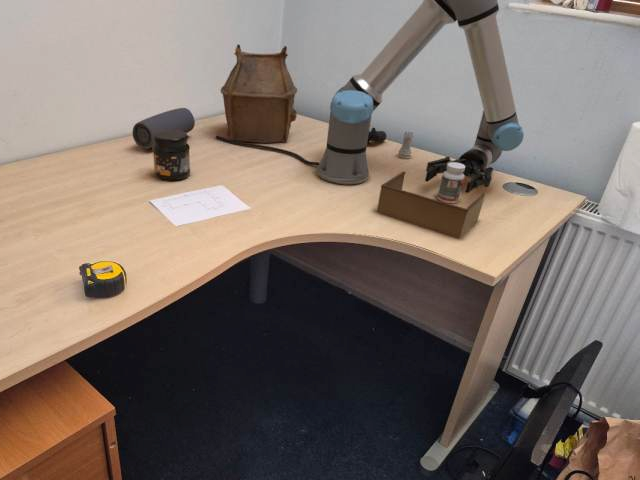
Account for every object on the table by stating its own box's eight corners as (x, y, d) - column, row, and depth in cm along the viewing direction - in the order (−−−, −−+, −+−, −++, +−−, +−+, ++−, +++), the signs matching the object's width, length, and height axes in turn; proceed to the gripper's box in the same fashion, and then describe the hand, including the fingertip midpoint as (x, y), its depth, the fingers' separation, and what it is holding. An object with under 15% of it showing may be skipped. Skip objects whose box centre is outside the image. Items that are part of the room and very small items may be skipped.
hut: (296, 146, 178) (304, 52, 161) (218, 143, 178) (217, 48, 161) (293, 127, 197) (300, 40, 180) (222, 124, 196) (222, 37, 180)
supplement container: (147, 174, 152) (143, 133, 145) (174, 166, 158) (172, 126, 152) (169, 184, 146) (167, 142, 139) (198, 175, 152) (197, 135, 146)
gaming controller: (339, 142, 192) (334, 134, 182) (342, 126, 191) (338, 118, 182) (384, 149, 187) (381, 141, 177) (388, 133, 186) (386, 125, 177)
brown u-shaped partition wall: (398, 196, 145) (403, 171, 141) (477, 220, 134) (485, 193, 130) (376, 211, 136) (381, 184, 132) (459, 238, 125) (467, 210, 121)
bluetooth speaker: (175, 132, 186) (173, 103, 181) (196, 137, 182) (195, 108, 177) (132, 149, 170) (129, 118, 164) (154, 155, 166) (152, 123, 160)
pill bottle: (459, 204, 142) (468, 170, 136) (437, 202, 143) (446, 167, 137) (456, 196, 147) (465, 162, 141) (436, 194, 147) (444, 160, 142)
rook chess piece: (396, 157, 172) (400, 133, 168) (398, 153, 176) (403, 130, 171) (409, 159, 171) (414, 135, 167) (411, 155, 174) (416, 132, 170)
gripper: (510, 183, 150) (486, 207, 135) (434, 164, 161) (404, 184, 146) (519, 158, 145) (494, 180, 131) (440, 140, 157) (409, 158, 142)
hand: (447, 182), depth 138 cm, fingers open, 10 cm apart
